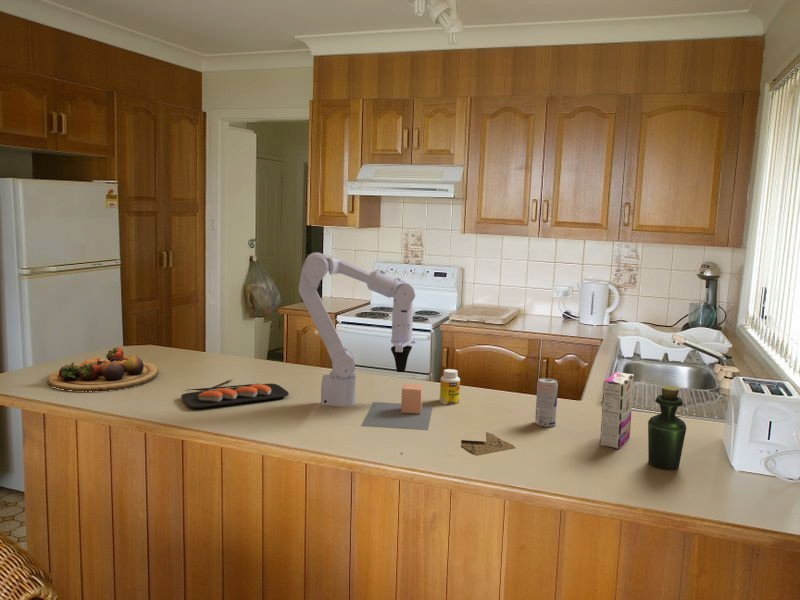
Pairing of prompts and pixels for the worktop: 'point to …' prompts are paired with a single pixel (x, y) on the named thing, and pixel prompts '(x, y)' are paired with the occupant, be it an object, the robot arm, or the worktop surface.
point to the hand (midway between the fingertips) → (400, 371)
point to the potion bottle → (666, 431)
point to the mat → (396, 417)
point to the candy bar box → (616, 409)
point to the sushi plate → (232, 394)
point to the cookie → (486, 445)
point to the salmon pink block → (411, 398)
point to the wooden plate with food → (104, 373)
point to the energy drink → (546, 402)
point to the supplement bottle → (450, 387)
